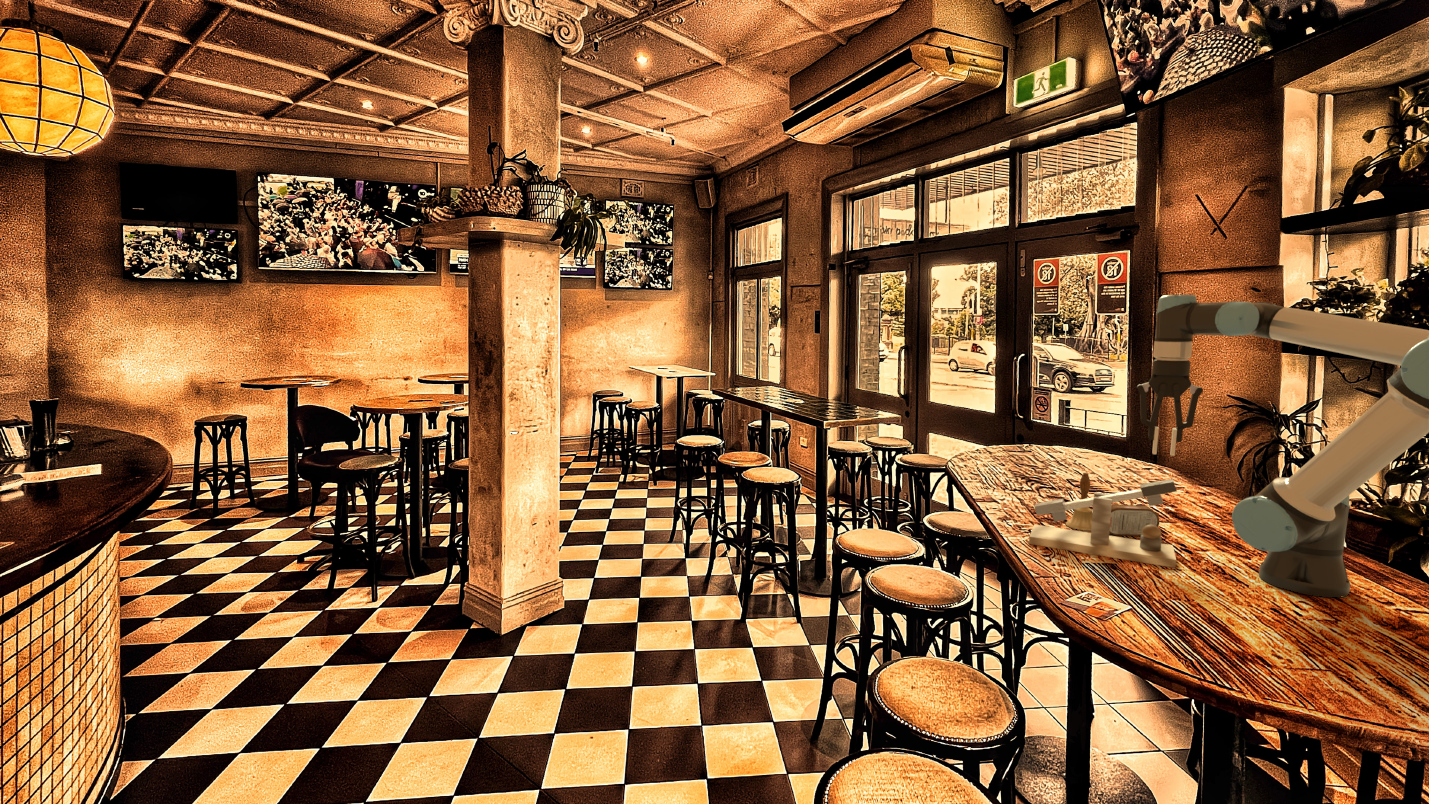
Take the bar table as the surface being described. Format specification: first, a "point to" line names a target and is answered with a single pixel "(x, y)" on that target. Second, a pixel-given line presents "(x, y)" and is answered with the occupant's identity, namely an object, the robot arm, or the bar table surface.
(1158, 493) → the lever
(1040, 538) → the press base
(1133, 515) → the tin
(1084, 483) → the hand bell
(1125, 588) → the bar table surface
